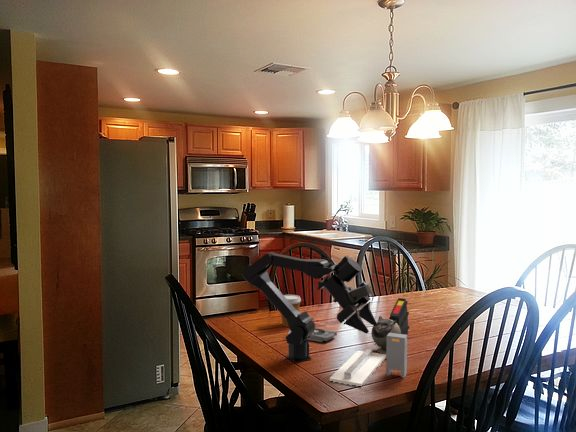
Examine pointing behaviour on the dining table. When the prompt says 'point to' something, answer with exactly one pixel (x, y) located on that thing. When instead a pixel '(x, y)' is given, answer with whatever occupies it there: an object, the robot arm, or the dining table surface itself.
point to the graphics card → (321, 335)
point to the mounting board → (362, 373)
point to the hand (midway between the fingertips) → (372, 328)
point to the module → (396, 353)
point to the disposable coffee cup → (295, 303)
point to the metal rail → (358, 364)
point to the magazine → (401, 315)
